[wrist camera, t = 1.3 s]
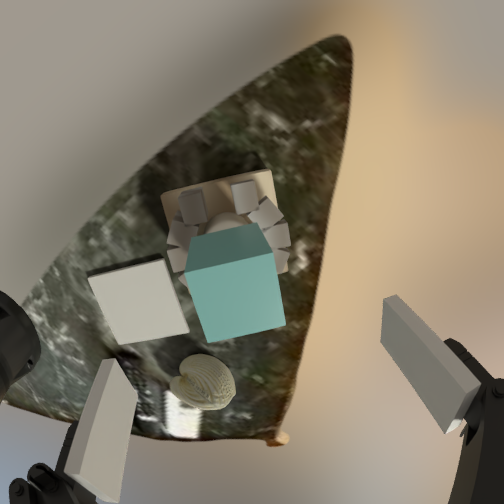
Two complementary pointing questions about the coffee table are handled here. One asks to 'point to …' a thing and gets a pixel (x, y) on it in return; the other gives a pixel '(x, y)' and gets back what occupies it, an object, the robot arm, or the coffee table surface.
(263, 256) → the plug
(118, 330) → the mat
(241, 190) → the socket
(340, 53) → the coffee table surface
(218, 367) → the seashell
